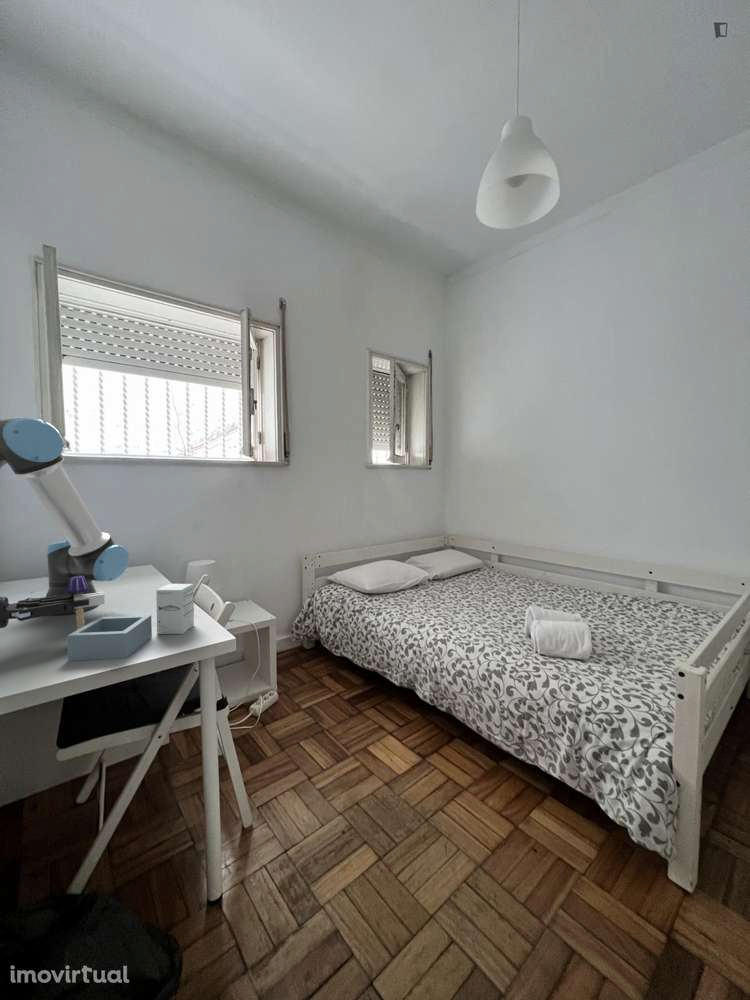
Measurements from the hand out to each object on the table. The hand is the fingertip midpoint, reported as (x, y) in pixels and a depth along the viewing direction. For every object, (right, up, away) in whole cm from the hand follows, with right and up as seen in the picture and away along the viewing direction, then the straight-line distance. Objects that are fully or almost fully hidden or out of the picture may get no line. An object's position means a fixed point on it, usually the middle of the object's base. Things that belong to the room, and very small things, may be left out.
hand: (103, 597), depth 107 cm
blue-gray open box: (+8, -11, -9) cm, 16 cm away
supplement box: (+18, -10, +4) cm, 21 cm away
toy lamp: (-4, -10, -3) cm, 12 cm away
